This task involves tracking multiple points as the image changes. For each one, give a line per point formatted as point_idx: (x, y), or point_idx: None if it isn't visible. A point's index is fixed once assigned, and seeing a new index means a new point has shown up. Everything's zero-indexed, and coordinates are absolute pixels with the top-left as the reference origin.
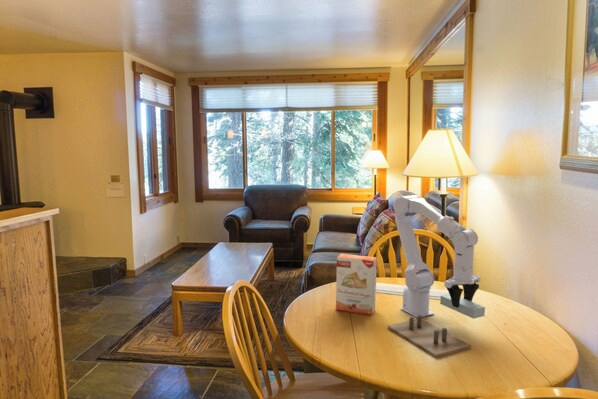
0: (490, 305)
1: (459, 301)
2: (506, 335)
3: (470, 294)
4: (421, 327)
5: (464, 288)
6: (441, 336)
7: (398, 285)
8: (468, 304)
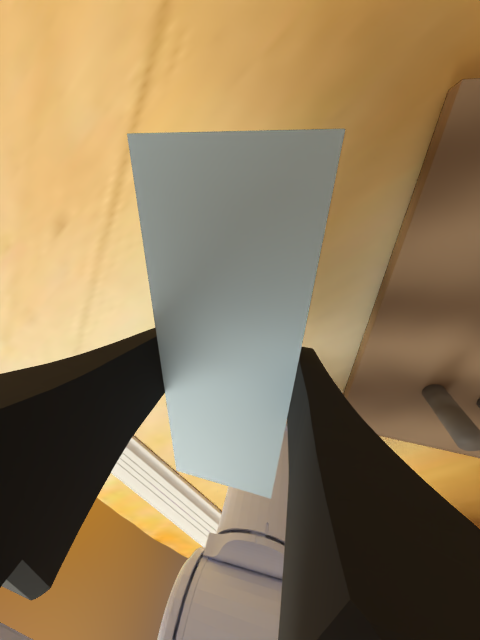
0: (27, 346)
1: (306, 375)
2: (123, 128)
3: (106, 381)
4: (427, 385)
5: (93, 482)
6: (467, 275)
7: (183, 529)
8: (239, 298)
